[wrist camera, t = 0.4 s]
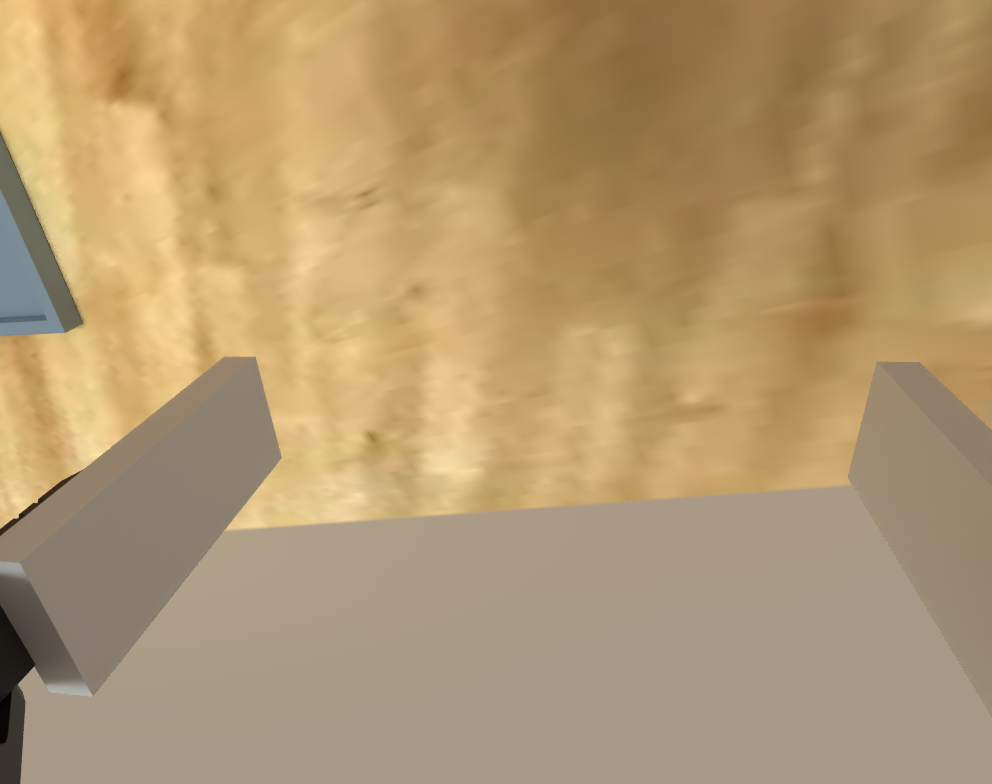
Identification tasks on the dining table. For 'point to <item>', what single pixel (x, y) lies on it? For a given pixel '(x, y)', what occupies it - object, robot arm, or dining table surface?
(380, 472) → the dining table surface
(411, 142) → the dining table surface
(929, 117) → the dining table surface
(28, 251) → the tray
